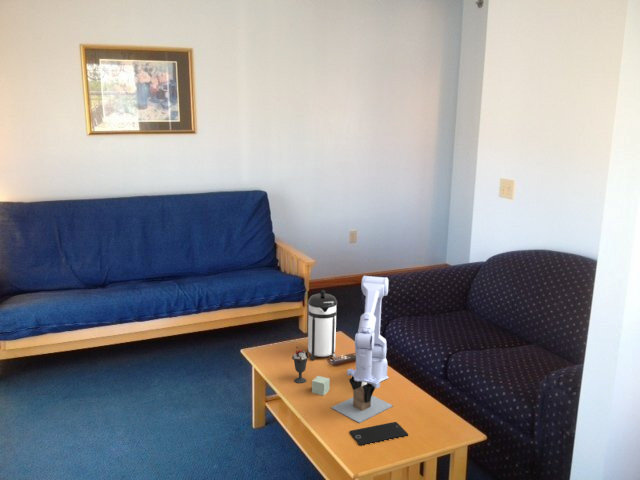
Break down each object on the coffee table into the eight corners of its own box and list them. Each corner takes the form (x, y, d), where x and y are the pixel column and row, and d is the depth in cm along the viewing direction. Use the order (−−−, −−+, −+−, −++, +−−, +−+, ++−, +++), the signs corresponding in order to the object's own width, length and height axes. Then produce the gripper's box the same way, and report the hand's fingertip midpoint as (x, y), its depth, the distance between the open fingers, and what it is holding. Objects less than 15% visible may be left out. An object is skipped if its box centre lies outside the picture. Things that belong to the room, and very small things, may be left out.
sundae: (289, 382, 233) (289, 347, 230) (296, 375, 239) (296, 341, 236) (304, 385, 231) (304, 350, 228) (311, 378, 237) (311, 343, 234)
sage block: (317, 387, 230) (318, 375, 229) (329, 390, 228) (329, 378, 227) (311, 392, 226) (312, 380, 224) (323, 395, 223) (323, 383, 222)
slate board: (364, 392, 226) (364, 391, 226) (392, 406, 216) (392, 405, 216) (331, 408, 214) (331, 407, 214) (359, 423, 204) (359, 422, 204)
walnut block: (361, 402, 218) (362, 386, 216) (370, 406, 215) (371, 390, 213) (353, 406, 215) (353, 389, 213) (362, 410, 212) (362, 394, 210)
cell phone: (348, 433, 199) (348, 430, 198) (396, 423, 205) (396, 421, 205) (359, 447, 191) (360, 444, 190) (408, 437, 197) (408, 434, 197)
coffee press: (346, 353, 261) (348, 289, 255) (323, 365, 250) (324, 297, 243) (317, 343, 273) (318, 281, 266) (293, 353, 261) (294, 288, 254)
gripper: (341, 361, 214) (340, 395, 217) (371, 374, 204) (369, 410, 207) (355, 355, 219) (353, 389, 222) (384, 368, 208) (383, 403, 211)
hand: (362, 399), depth 214 cm, fingers closed on walnut block, 4 cm apart
